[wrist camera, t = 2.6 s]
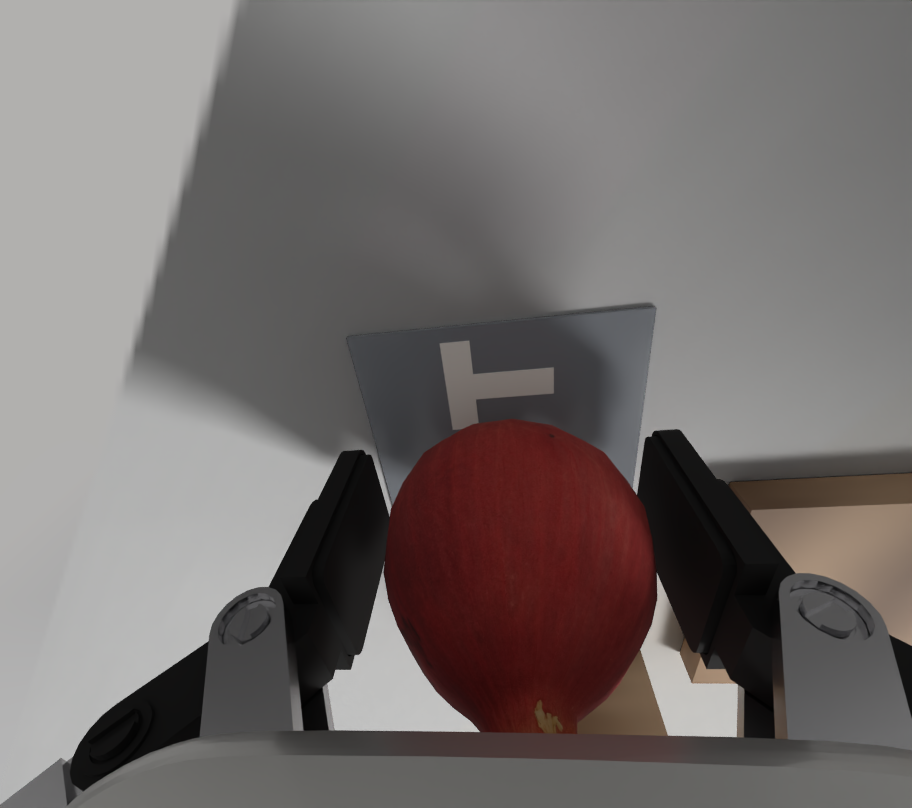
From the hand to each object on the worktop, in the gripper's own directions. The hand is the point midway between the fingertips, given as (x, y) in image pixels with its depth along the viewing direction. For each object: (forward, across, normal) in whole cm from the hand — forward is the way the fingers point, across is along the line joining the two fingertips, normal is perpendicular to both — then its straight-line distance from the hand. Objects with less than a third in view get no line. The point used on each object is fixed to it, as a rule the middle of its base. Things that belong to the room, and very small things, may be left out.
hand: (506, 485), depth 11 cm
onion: (+2, 0, 0) cm, 2 cm away
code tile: (+2, 0, 0) cm, 2 cm away
